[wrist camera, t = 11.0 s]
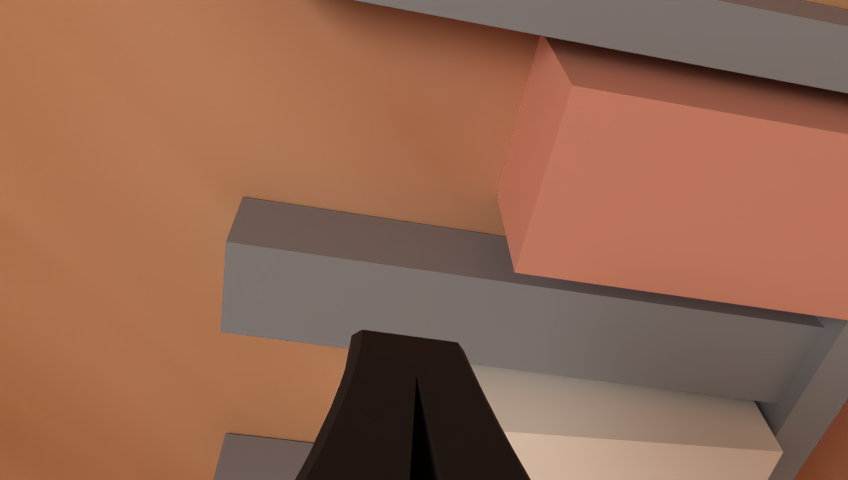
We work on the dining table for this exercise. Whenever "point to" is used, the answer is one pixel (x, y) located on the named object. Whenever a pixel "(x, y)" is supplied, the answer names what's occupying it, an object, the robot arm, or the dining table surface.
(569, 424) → the off-white plug
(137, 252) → the dining table surface
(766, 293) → the brick-red plug
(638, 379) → the cable organizer
